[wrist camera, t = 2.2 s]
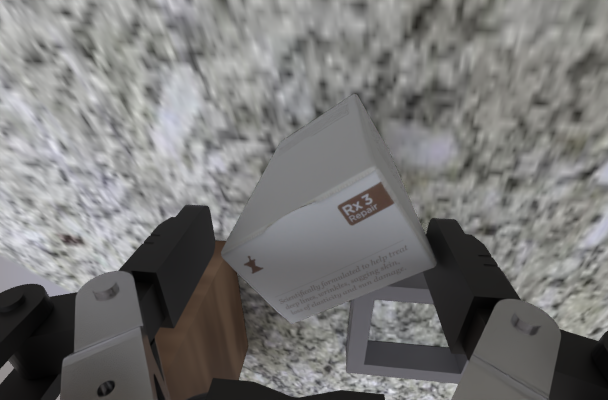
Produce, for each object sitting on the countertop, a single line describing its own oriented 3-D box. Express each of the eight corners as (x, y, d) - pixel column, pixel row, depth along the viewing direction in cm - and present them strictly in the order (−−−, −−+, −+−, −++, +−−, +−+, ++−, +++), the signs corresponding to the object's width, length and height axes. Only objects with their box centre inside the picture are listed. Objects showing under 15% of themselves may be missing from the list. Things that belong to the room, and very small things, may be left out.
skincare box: (314, 188, 22) (289, 336, 12) (276, 138, 21) (209, 259, 10) (391, 143, 20) (446, 278, 9) (356, 84, 18) (376, 167, 8)
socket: (502, 271, 24) (518, 296, 22) (464, 359, 30) (473, 385, 28) (355, 261, 25) (356, 284, 23) (345, 348, 31) (346, 372, 29)
